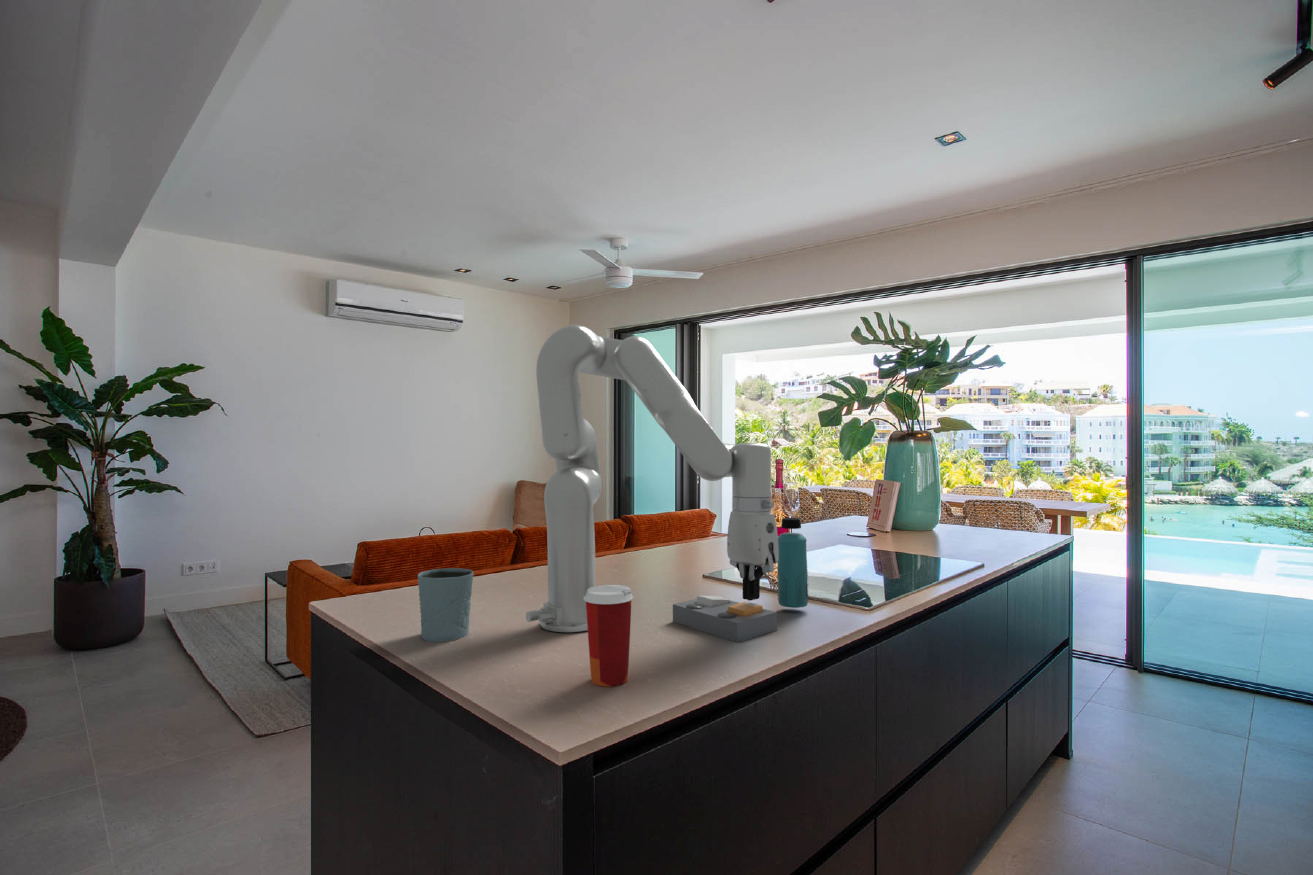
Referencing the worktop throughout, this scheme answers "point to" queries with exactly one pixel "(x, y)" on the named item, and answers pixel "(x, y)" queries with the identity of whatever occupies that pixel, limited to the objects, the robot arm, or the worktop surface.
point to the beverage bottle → (792, 566)
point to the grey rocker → (711, 601)
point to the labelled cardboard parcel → (745, 609)
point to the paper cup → (609, 633)
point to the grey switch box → (724, 620)
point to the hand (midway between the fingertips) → (751, 598)
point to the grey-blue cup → (445, 603)
